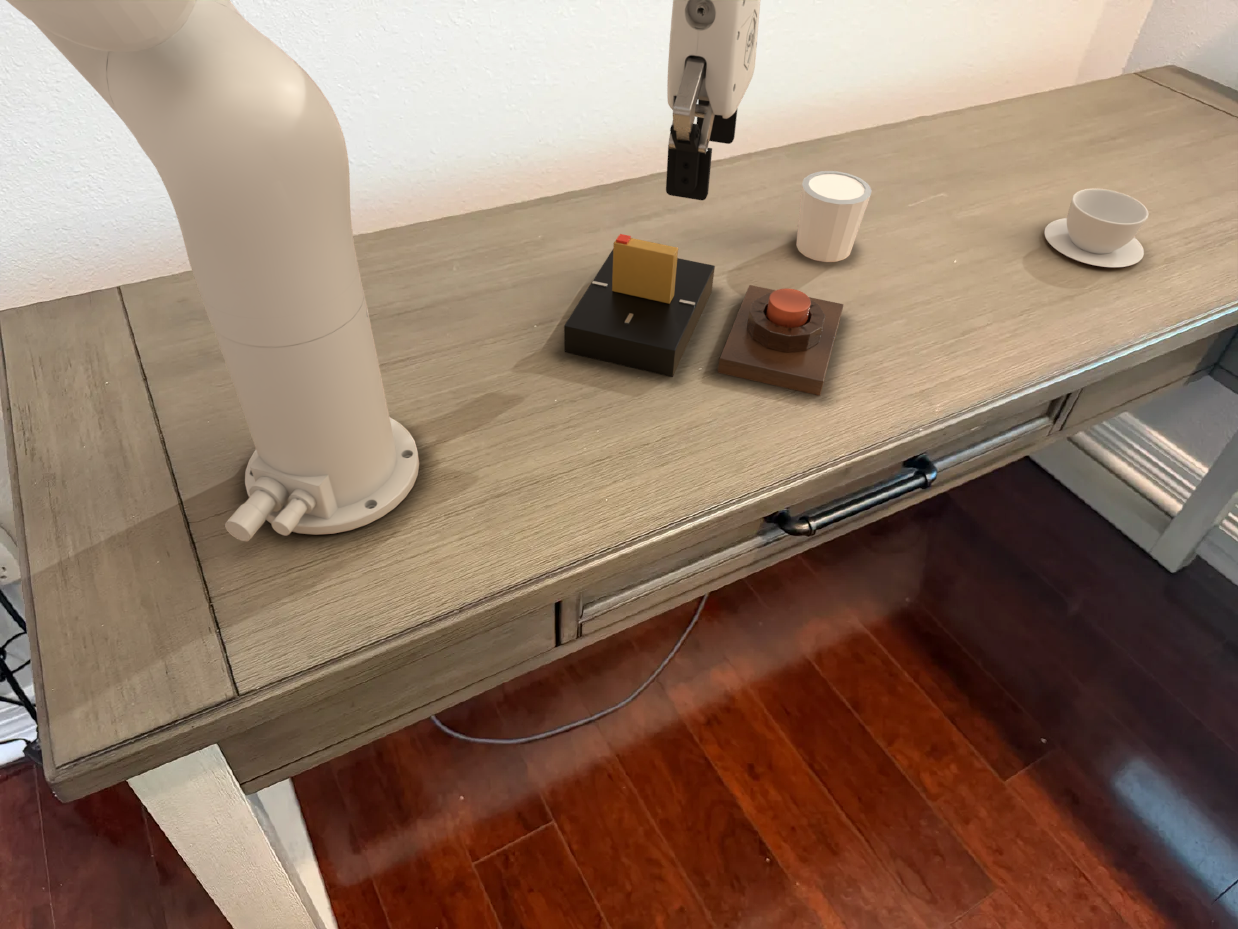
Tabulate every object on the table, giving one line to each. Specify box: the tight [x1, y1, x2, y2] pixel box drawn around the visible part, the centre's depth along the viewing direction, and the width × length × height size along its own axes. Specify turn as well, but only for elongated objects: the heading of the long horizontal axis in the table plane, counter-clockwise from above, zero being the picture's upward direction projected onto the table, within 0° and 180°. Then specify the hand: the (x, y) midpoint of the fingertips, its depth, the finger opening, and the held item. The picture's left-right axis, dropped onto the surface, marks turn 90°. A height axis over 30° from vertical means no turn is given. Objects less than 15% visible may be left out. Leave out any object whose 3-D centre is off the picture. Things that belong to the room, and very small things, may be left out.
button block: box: [717, 284, 844, 396], centre depth 80 cm, size 12×9×4 cm
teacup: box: [1044, 187, 1149, 268], centre depth 93 cm, size 10×10×5 cm
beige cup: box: [795, 170, 872, 263], centre depth 90 cm, size 7×7×7 cm
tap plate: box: [563, 249, 716, 378], centre depth 82 cm, size 14×10×3 cm
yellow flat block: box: [612, 233, 679, 304], centre depth 79 cm, size 6×1×5 cm, turn 71°
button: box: [767, 287, 811, 328], centre depth 78 cm, size 4×4×2 cm
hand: (701, 166), depth 72 cm, fingers open, 9 cm apart
